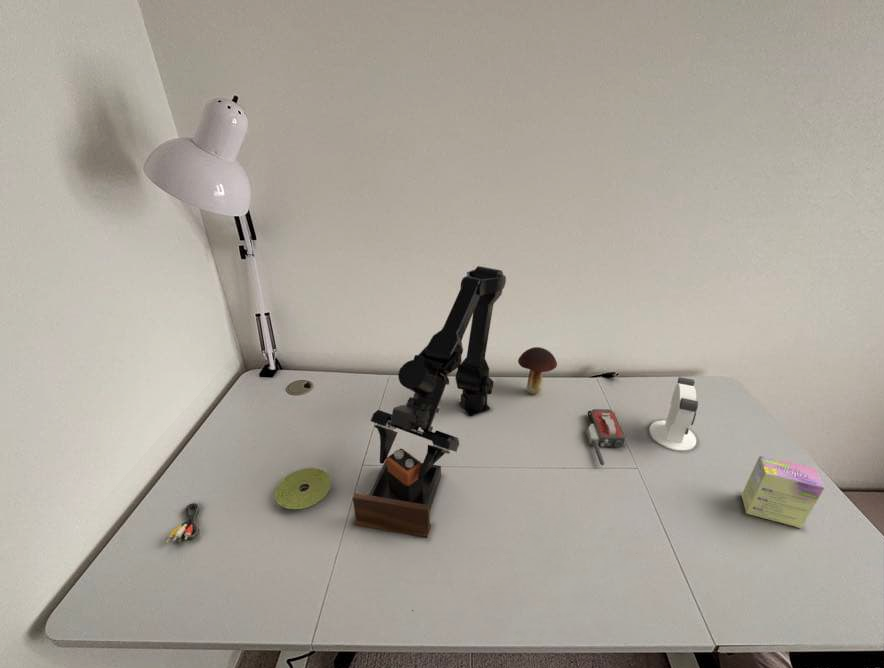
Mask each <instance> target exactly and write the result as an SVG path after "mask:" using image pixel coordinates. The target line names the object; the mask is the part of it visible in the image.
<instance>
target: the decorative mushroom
mask: <svg viewBox="0 0 884 668" xmlns="http://www.w3.org/2000/svg"><path fill="white" fill-rule="evenodd" d="M517 362H518V365H519V366H520V367H521V368H524V369H527V370H529V374H528V377H527V385H526V389H527V391H528V393H529V394H531V395H538V394H541V391H542V389H543V378H544V377H543V373H547V372H550V371H553V370H555V369H556V368H557V367H558V362H557V359H556V357H555V356H554V355H553V353H552V352H551V351H550V350H548V349H546V348H544V347H541V346H540V347H539V346H535V347H531V348H528V349H527V350H525V351H524V352H523V353H521V354H520V356H519V357H518V359H517Z"/></svg>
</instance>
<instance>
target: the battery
mask: <svg viewBox="0 0 884 668" xmlns="http://www.w3.org/2000/svg"><path fill="white" fill-rule="evenodd" d="M385 461H387V473H388V484H389V489H390V490H391V491H393V492H394V493H395V494H396V495H397V496H398V497H400V498H401V499H402V500H403V501H406V502H413V501H414V500H416V499H417V498H418V497H420V496H421V495H422V494H423V480H422V479H418V475H419V471H420V469H421V466H422V463H423V462H421V461H419V460H418V459H417V458H415V456H414V455H411V453H409V452H408V451H406V450H405V449H403V448H399V449H396V450H394V451H393V453H391V454H390V455H388V456H387V458H386V460H385Z"/></svg>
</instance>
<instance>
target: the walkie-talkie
mask: <svg viewBox="0 0 884 668" xmlns="http://www.w3.org/2000/svg"><path fill="white" fill-rule="evenodd" d="M587 417H588V420H589V427H587V432H586V435H587V438H588V443H589V445H592V446H593V448H594V450H595V453H596V456H597V460H598V463H599V464H600V465H601V466H604V465H605V461H604V458H603V455H602V453H601V452H602V451H601V450H600V447H602V448H604V447H615V448H621V447H624V445H625V441H626V435H625V433H624V431H623V429H622V427H621V424H620V422H619V420H618V417H617V416H616V413H615V411H614V410H612V409H610V408H609V409H608V408H607V409H606V408H593V409H592V410H588V411H587Z"/></svg>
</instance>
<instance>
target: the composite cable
mask: <svg viewBox="0 0 884 668" xmlns="http://www.w3.org/2000/svg"><path fill="white" fill-rule="evenodd" d="M191 509H194V512H193V515H191V512H190V510H191ZM199 510H200V507H199V505H198V503H196V502H192V503H189V504H188V505H187V506H186V507H185V510H184V511H185V515H186V517H187V521H185V522H183V523H181V524H179V525H178V526H177V527H175V528H174V529H173V530H172V531H171V532H170V533H169V534H168V536H167V540H166V541H165V543H166V544H168V543H170V541H171V540H172V542H175V541H176V540H177V539H178V540H177V542H178V543H179V544H181V542H182V541H183V540H185V541H186V540H188V539H190V540H194V539H197V538H198V537H199V535H200V531H201V530H200V528H199V526H198V525H197V523H196V519H197V516H198V514H199ZM193 527H195V529H196V530H195V532H194V533H193V531H194V528H193ZM192 533H193V534H192Z"/></svg>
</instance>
